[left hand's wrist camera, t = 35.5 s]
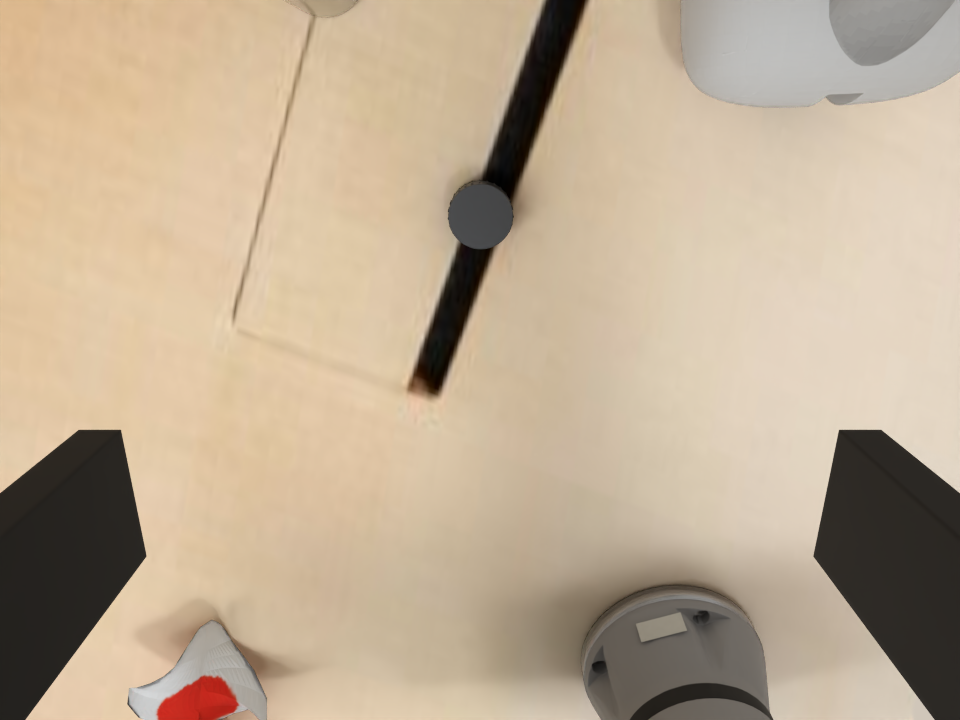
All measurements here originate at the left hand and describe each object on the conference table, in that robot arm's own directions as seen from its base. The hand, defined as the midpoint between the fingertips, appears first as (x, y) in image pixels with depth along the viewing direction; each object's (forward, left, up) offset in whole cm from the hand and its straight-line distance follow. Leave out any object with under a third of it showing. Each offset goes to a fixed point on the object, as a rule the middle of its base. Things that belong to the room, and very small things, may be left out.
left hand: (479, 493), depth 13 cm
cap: (0, 0, -34) cm, 34 cm away
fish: (-21, +42, -36) cm, 59 cm away
